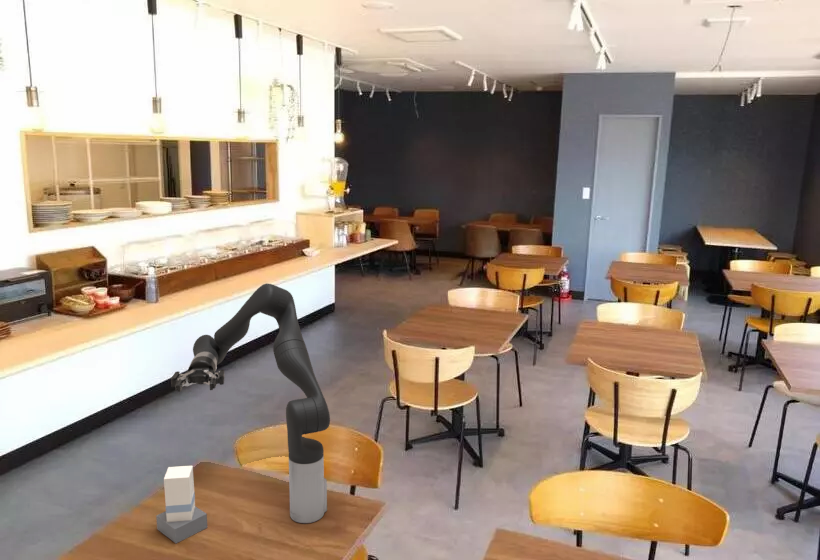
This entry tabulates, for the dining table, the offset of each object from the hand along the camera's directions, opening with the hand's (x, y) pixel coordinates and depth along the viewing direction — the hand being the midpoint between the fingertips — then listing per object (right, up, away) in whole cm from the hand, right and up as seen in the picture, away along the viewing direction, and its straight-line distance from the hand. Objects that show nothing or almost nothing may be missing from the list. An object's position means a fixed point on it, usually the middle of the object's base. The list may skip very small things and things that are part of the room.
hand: (195, 387), depth 175 cm
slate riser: (0, -35, -10) cm, 36 cm away
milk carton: (0, -31, -11) cm, 33 cm away
